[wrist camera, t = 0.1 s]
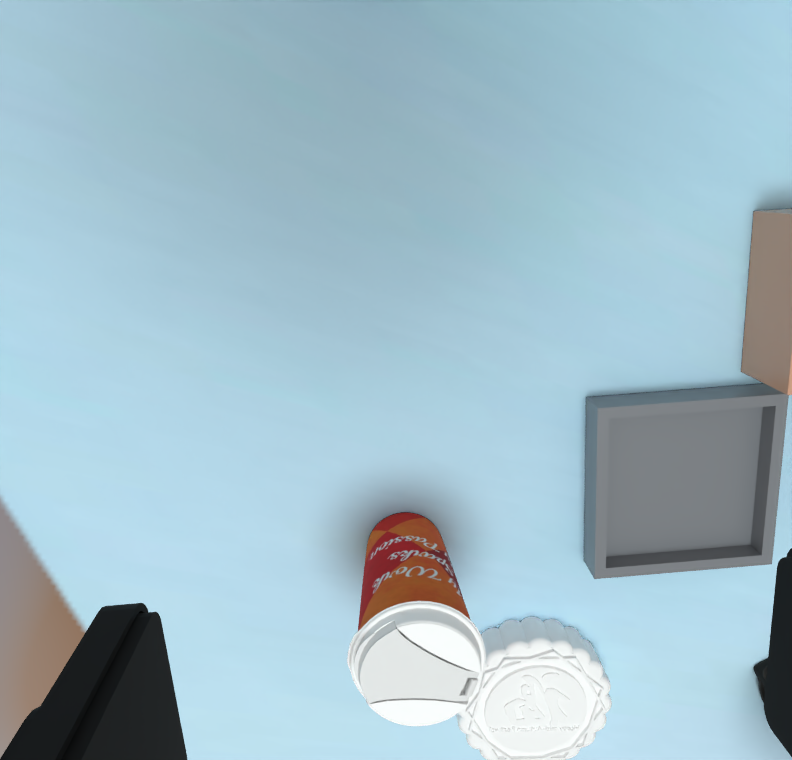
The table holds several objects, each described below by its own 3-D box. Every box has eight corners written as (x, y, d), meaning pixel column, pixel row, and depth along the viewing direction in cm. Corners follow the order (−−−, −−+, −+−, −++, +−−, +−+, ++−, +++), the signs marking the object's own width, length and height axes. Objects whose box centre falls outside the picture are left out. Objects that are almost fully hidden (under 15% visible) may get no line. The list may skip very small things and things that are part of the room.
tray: (586, 397, 48) (597, 408, 46) (767, 383, 49) (788, 393, 46) (583, 560, 52) (594, 578, 50) (752, 546, 52) (771, 564, 50)
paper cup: (470, 514, 50) (510, 635, 37) (436, 601, 52) (462, 746, 39) (369, 486, 49) (371, 599, 36) (338, 576, 51) (329, 716, 38)
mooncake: (607, 613, 54) (623, 642, 50) (591, 738, 57) (606, 774, 54) (454, 615, 53) (460, 645, 50) (448, 741, 56) (453, 778, 53)
